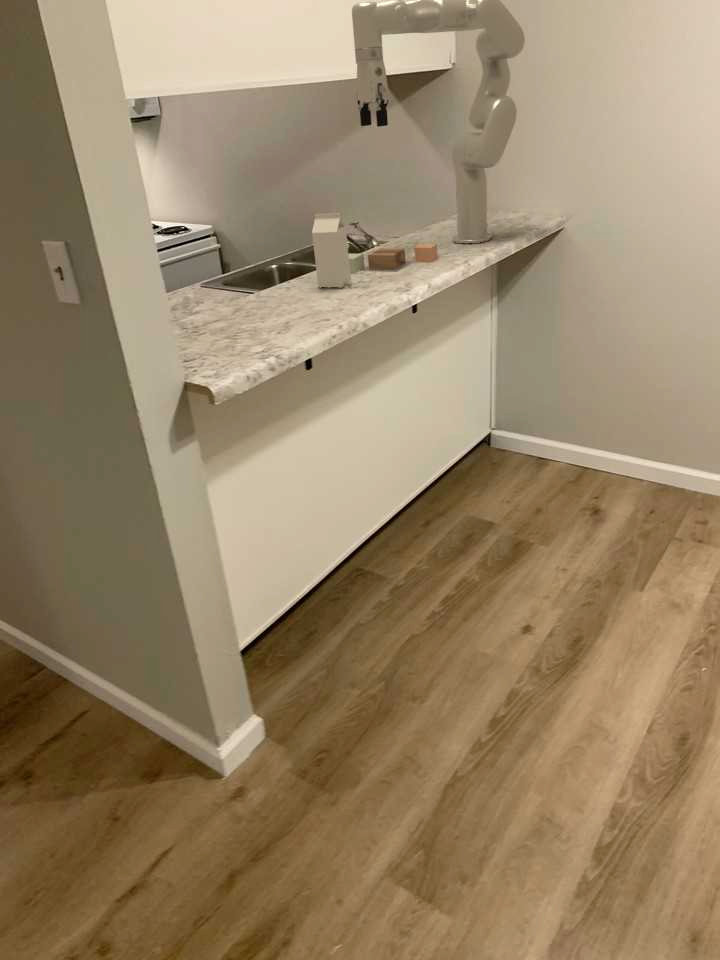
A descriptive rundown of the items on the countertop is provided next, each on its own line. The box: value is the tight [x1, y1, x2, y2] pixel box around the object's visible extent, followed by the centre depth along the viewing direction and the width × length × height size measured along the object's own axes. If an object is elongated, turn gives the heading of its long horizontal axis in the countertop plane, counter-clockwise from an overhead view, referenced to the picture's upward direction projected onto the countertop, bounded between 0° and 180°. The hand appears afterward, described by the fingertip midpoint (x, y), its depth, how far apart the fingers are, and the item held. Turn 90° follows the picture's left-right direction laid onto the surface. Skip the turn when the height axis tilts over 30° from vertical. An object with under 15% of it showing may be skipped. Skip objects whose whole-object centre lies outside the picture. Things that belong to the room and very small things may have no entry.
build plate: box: [359, 260, 415, 273], centre depth 214 cm, size 12×12×1 cm
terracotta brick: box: [414, 243, 439, 263], centre depth 215 cm, size 5×5×5 cm
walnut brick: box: [367, 248, 406, 270], centre depth 213 cm, size 8×8×4 cm
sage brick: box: [348, 253, 365, 274], centre depth 213 cm, size 6×6×5 cm
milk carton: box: [311, 212, 352, 289], centre depth 199 cm, size 7×7×19 cm
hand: (374, 125), depth 208 cm, fingers open, 9 cm apart
